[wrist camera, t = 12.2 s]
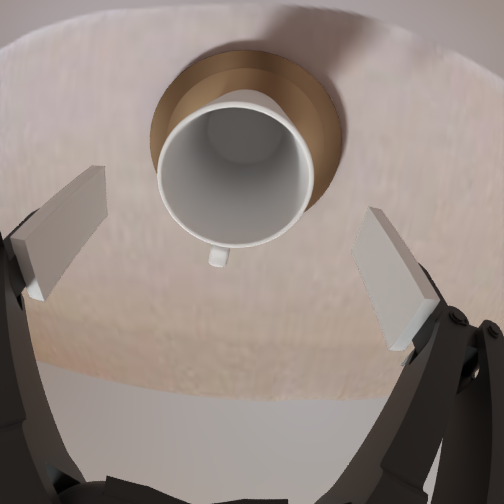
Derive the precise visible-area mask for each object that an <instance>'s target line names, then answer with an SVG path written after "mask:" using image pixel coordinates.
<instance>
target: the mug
mask: <svg viewBox="0 0 504 504" xmlns="http://www.w3.org/2000/svg"><path fill="white" fill-rule="evenodd" d="M157 178H158V186H159V191H160V194H161V197H162V200H163V202H164V204H165V206H166V208H167V210H168V211H169V213H170V214H171V216H172V217H173V218H174V219H175V221H176V222H177V223H178V224H179V225H180V226H181V227H183V228H184V229H185V230H186V231H187V232H189V233H190V234H192V235H193V236H195V237H197V238H199V239H201V240H203V241H205V242H207V243H210V244H212V245H211V250H210V256H209V263H210V264H211V265H213V266H216V267H224V266H226V264H227V261H228V256H229V251H230V248H242V247H251V246H256V245H259V244H263V243H266V242H268V241H270V240H273V239H275V238H276V237H278V236H280V235H281V234H283V233H284V232H286V231H287V230H288V229H289V228H291V227H292V226H293V225H294V224H295V223H296V222H297V220H298V219H299V218H300V217H301V215H302V214H303V212H304V211H305V209H306V207H307V205H308V203H309V200H310V198H311V194H312V191H313V185H314V167H313V161H312V157H311V153H310V151H309V148H308V146H307V144H306V142H305V140H304V139H303V137H302V135H301V134H300V133H299V131H298V130H297V128H296V127H295V125H294V124H293V123H292V121H291V120H290V119H289V118H288V116H287V115H286V114H285V113H284V111H283V110H282V109H281V108H280V106H279V105H278V104H277V103H276V102H275V101H274V100H273V99H271V98H270V97H269V96H267V95H265V94H264V93H261V92H258V91H255V90H248V89H243V90H236V91H232V92H229V93H227V94H224V95H222V96H221V97H219V98H217V99H215V100H213V101H211V102H210V103H208V104H206V105H204V106H202V107H201V108H199V109H197V110H196V111H195V112H193V113H191V114H190V115H188V116H187V117H186V118H184V119H183V120H182V121H181V122H180V123H179V124H178V125H177V126H176V127H175V128H174V129H173V130H172V132H171V133H170V135H169V136H168V138H167V139H166V141H165V143H164V145H163V148H162V150H161V153H160V156H159V161H158V169H157Z"/></svg>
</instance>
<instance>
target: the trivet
mask: <svg viewBox="0 0 504 504" xmlns="http://www.w3.org/2000/svg"><path fill="white" fill-rule="evenodd" d="M243 89H248V90H255V91H258V92H261V93H264V94H265V95H267V96H269V97H270V98H271V99H273V100H274V101H275V102H276V103H277V104H278V105H279V106H280V108H281V109H282V110H283V111H284V113H285V114H286V115H287V116H288V118H289V119H290V120H291V121H292V123H293V124H294V125H295V127H296V128H297V130H298V131H299V133H300V134H301V135H302V137H303V139H304V140H305V142H306V144H307V146H308V148H309V151H310V153H311V157H312V161H313V167H314V185H313V191H312V194H311V198H310V200H309V203H308V205H307V207H306V209H305V211H307V210H308V209H309V208H310V207H311V206H313V205H314V204H315V203H316V202H317V201H318V200H319V199H320V197H321V196H322V195H323V194H324V192H325V191H326V190H327V188H328V187H329V185H330V183H331V181H332V180H333V178H334V176H335V173H336V170H337V168H338V165H339V160H340V156H341V147H342V136H341V127H340V122H339V117H338V115H337V112H336V109H335V107H334V104H333V103H332V101H331V99H330V97H329V95H328V94H327V92H326V91H325V90H324V88H323V87H322V86H321V84H320V83H319V82H318V81H317V80H316V79H315V78H314V77H313V76H312V75H311V74H310V73H308V72H307V71H306V70H304V69H303V68H302V67H300V66H299V65H297V64H295V63H293V62H291V61H290V60H288V59H285V58H283V57H280V56H277V55H274V54H270V53H266V52H261V51H251V50H241V51H230V52H225V53H220V54H217V55H214V56H211V57H208V58H206V59H204V60H201V61H199V62H197V63H195V64H194V65H192V66H191V67H189V68H188V69H187V70H185V71H184V72H183V73H181V74H180V75H179V76H178V77H177V78H176V79H175V80H174V81H173V82H172V83H171V85H170V86H169V87H168V88H167V89H166V91H165V93H164V94H163V96H162V97H161V99H160V101H159V103H158V105H157V108H156V110H155V113H154V116H153V120H152V123H151V131H150V150H151V156H152V161H153V164H154V168H155V170H156V173H157V169H158V161H159V156H160V153H161V150H162V148H163V145H164V143H165V141H166V139H167V138H168V136H169V135H170V133H171V132H172V130H173V129H174V128H175V127H176V126H177V125H178V124H179V123H180V122H181V121H182V120H183V119H184V118H186V117H187V116H188V115H190V114H191V113H193V112H195V111H196V110H197V109H199V108H201V107H202V106H204V105H206V104H208V103H210V102H211V101H213V100H215V99H217V98H219V97H221V96H222V95H224V94H227V93H229V92H232V91H236V90H243ZM305 211H304V212H305ZM304 212H303V213H304Z"/></svg>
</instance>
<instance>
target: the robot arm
mask: <svg viewBox="0 0 504 504" xmlns="http://www.w3.org/2000/svg"><path fill="white" fill-rule="evenodd" d="M107 215H108V213H107V199H106V181H105V166H91V167H89V168H88V169H87V170H85V171H84V172H83V173H82V174H80V175H79V176H78V177H76V178H75V179H74V180H73V181H71V182H70V183H69V184H68V185H67V186H65V187H64V188H63V189H62V190H60V191H59V192H58V193H57V194H56V195H55V196H53V197H52V198H51V199H50V200H49V201H48V202H47V203H45V204H44V205H43V206H42V207H41V208H39V209H37V210H36V211H34V212H32V213H31V214H30V215H28V216H27V217H26V218H25V219H24V221H22V222H21V223H20V224H19V226H17V227H16V228H15V229H14V230H13V231H12V232H11V233H10V234H9V235H8V236H7V237H6V238H5V239H4V240H3V239H2V236H1V232H0V504H190V503H187V502H185V501H182V500H179V499H177V498H174V497H172V496H169V495H167V494H164V493H162V492H160V491H158V490H155V489H153V488H151V487H149V486H144V485H140V484H136V483H132V482H128V481H124V480H120V479H117V478H114V477H110V476H107V477H106V481H92V482H86V481H85V479H84V477H83V475H82V473H81V472H80V470H79V468H78V467H77V465H76V464H75V463H74V461H73V460H72V459H71V457H70V456H69V454H68V452H67V451H66V448H65V446H64V443H63V441H62V439H61V436H60V434H59V431H58V429H57V426H56V424H55V421H54V418H53V415H52V413H51V410H50V407H49V404H48V401H47V398H46V395H45V392H44V389H43V385H42V382H41V379H40V375H39V371H38V367H37V364H36V360H35V356H34V351H33V347H32V342H31V338H30V333H29V328H28V322H27V316H26V310H25V304H24V298H23V296H22V293H21V292H22V291H23V289H24V288H25V286H26V288H27V290H28V293H29V296H30V298H34V299H37V300H40V301H44V302H45V300H46V299H47V297H48V296H49V294H50V293H51V291H52V290H53V288H54V287H55V285H56V284H57V282H58V281H59V279H60V278H61V276H62V275H63V273H64V272H65V270H66V269H67V268H68V266H69V265H70V263H71V262H72V261H73V259H74V258H75V256H76V255H77V254H78V252H79V251H80V250H81V248H82V247H83V246H84V244H85V243H86V242H87V240H88V239H89V238H90V237H91V235H92V234H93V233H94V231H95V230H96V229H97V228H98V226H99V225H100V224H101V223H102V221H103V220H104V219H105V218H106V217H107ZM351 253H352V255H353V258H354V260H355V262H356V265H357V267H358V270H359V272H360V274H361V277H362V279H363V282H364V284H365V287H366V289H367V292H368V295H369V297H370V300H371V302H372V305H373V308H374V310H375V313H376V316H377V318H378V321H379V324H380V327H381V330H382V332H383V335H384V338H385V341H386V344H387V347H388V350H389V351H404V350H405V349H406V347H407V346H408V345H409V344H410V342H411V341H412V342H413V344H414V347H415V348H414V350H413V351H412V352H411V353H410V355H409V356H408V357H407V358H406V359H405V361H404V362H403V363H402V364H401V366H404V365H405V366H404V368H403V371H402V373H401V375H400V377H399V379H398V381H397V383H396V385H395V387H394V389H393V391H392V393H391V395H390V397H389V399H388V401H387V403H386V404H385V406H384V408H383V410H382V412H381V413H380V415H379V417H378V419H377V420H376V422H375V424H374V426H373V427H372V429H371V431H370V432H369V434H368V435H367V437H366V439H365V440H364V442H363V444H362V445H361V447H360V448H359V450H358V452H357V453H356V455H355V456H354V457H353V459H352V460H351V462H350V463H349V465H348V466H347V468H346V469H345V470H344V472H343V473H342V475H341V476H340V478H339V479H338V480H337V482H336V483H335V484H334V486H333V487H332V488H331V489H330V490H329V491H328V492H327V493H325V495H323V496H322V497H321V498H320V499H319V500H317V501H316V503H315V504H427V501H428V494H427V493H425V492H424V491H423V485H424V482H425V480H426V478H427V475H428V473H429V471H430V468H431V466H432V464H433V462H434V459H435V457H436V454H437V451H438V449H439V446H440V443H441V441H442V447H441V455H440V461H439V467H438V472H437V477H436V483H435V487H434V492H433V496H432V500H431V504H504V336H503V334H502V331H501V330H500V328H499V326H498V325H497V324H496V323H493V322H492V321H490V320H484V321H483V322H482V324H481V325H480V326H479V328H477V327H474V326H471V325H469V321H468V319H467V317H466V316H465V315H464V313H463V312H461V311H460V310H459V309H457V308H455V307H453V306H448V305H447V303H446V302H445V300H444V298H443V296H442V295H441V293H440V291H439V290H438V288H437V287H436V285H435V283H434V281H433V280H432V278H431V277H430V275H429V273H428V272H427V270H426V269H425V268H424V267H423V266H421V265H420V264H419V263H418V262H417V261H416V259H415V258H414V256H413V254H412V253H411V251H410V250H409V248H408V247H407V245H406V244H405V242H404V241H403V239H402V238H401V237H400V235H399V234H398V232H397V231H396V229H395V228H394V226H393V225H392V224H391V222H390V221H389V219H388V218H387V217H386V215H385V214H384V213H383V211H382V210H381V209H377V208H373V207H369V206H368V209H367V211H366V214H365V217H364V219H363V222H362V224H361V227H360V230H359V232H358V235H357V237H356V240H355V242H354V245H353V247H352V250H351ZM478 369H479V372H478V375H477V377H476V378H475V372H476V371H477V370H478ZM442 438H443V440H442ZM214 504H288V499H267V500H265V499H241V500H235V501H229V502H222V503H214Z"/></svg>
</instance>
